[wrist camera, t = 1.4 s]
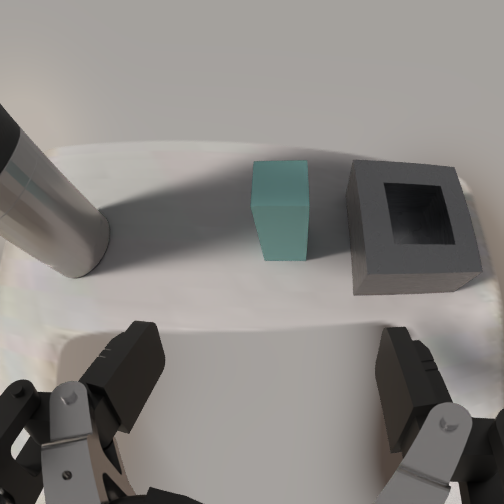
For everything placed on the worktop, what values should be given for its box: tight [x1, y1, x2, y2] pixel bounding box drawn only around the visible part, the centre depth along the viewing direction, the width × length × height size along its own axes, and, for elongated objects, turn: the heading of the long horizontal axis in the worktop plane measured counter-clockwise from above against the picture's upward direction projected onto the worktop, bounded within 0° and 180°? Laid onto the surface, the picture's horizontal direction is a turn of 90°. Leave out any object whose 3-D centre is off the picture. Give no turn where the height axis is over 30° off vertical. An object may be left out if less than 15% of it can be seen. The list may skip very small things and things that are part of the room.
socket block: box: [346, 160, 482, 295], centre depth 26 cm, size 11×11×6 cm
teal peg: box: [251, 160, 309, 261], centre depth 26 cm, size 4×4×10 cm
